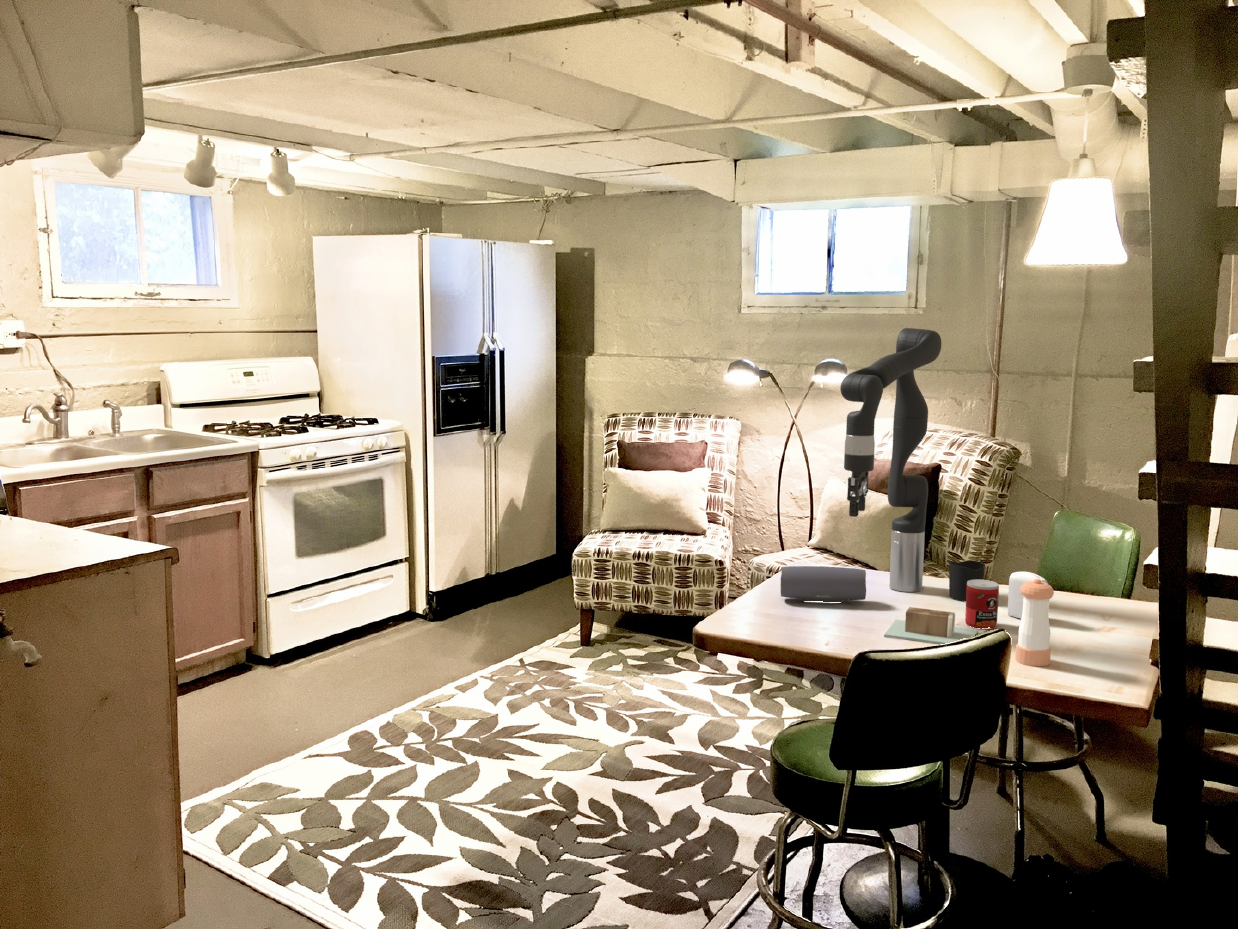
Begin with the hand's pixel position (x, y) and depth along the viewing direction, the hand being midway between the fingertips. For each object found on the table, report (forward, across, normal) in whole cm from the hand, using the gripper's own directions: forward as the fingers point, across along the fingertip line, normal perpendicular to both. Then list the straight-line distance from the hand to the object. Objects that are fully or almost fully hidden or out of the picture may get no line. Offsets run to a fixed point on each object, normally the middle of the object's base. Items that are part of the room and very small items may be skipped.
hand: (857, 513), depth 258 cm
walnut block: (+24, -9, -15) cm, 30 cm away
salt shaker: (+27, -20, -45) cm, 56 cm away
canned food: (+27, +4, -32) cm, 42 cm away
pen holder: (+28, +30, -25) cm, 48 cm away
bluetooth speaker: (+28, +8, +10) cm, 31 cm away
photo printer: (+27, +15, -42) cm, 52 cm away
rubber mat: (+27, -9, -21) cm, 36 cm away
